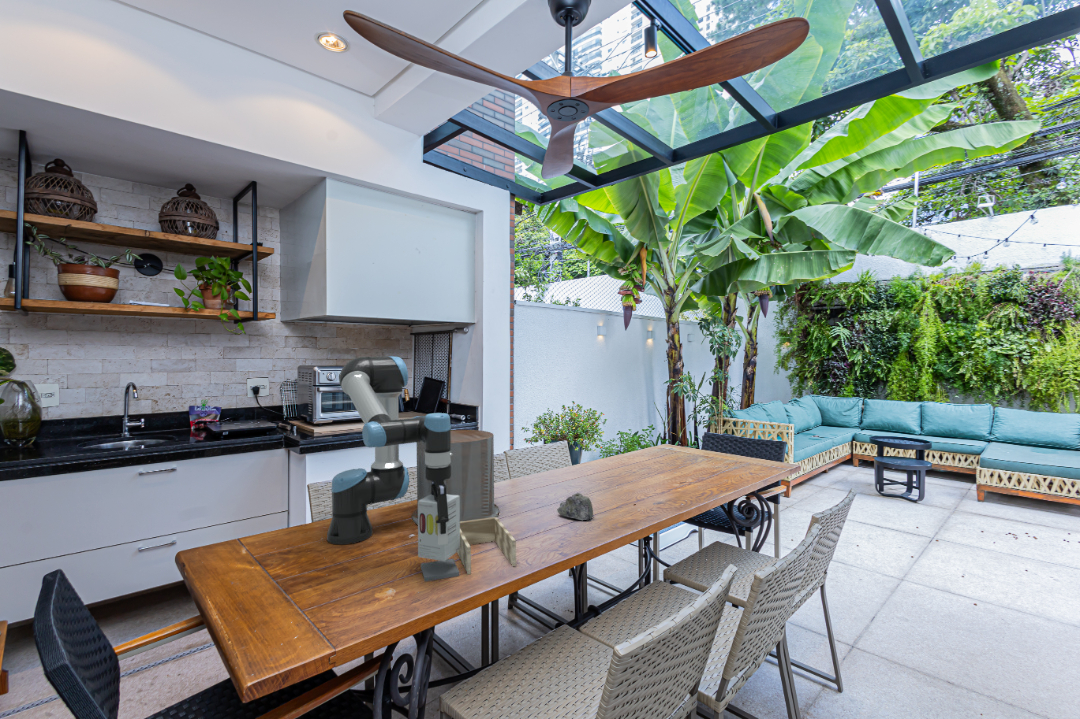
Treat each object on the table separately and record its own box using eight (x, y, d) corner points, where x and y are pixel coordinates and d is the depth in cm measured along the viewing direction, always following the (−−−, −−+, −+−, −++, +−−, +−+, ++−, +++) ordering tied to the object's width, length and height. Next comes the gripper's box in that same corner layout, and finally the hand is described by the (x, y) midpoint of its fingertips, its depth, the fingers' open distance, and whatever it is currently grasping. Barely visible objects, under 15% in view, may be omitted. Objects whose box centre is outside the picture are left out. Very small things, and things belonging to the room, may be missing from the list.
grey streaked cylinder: (427, 537, 173) (426, 447, 172) (401, 510, 203) (400, 433, 202) (514, 519, 190) (513, 437, 190) (479, 497, 221) (478, 426, 220)
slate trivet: (420, 567, 149) (420, 563, 149) (453, 562, 152) (453, 558, 152) (424, 581, 139) (424, 577, 139) (459, 575, 143) (459, 571, 143)
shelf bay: (453, 545, 165) (453, 522, 165) (496, 539, 170) (496, 516, 170) (467, 574, 144) (467, 547, 144) (516, 566, 149) (515, 540, 149)
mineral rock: (555, 515, 195) (555, 490, 195) (577, 510, 201) (576, 486, 201) (575, 525, 184) (574, 498, 184) (597, 519, 190) (596, 494, 190)
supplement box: (417, 557, 143) (416, 500, 143) (434, 545, 152) (433, 492, 151) (445, 561, 140) (444, 503, 139) (461, 549, 148) (460, 494, 148)
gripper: (458, 473, 135) (459, 549, 135) (444, 456, 158) (445, 521, 158) (431, 475, 132) (432, 553, 133) (420, 458, 156) (421, 524, 156)
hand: (439, 536), depth 146 cm, fingers closed on supplement box, 13 cm apart
